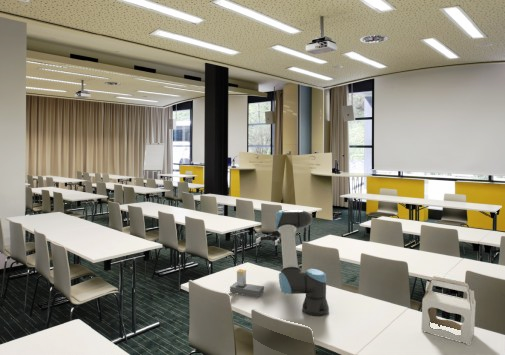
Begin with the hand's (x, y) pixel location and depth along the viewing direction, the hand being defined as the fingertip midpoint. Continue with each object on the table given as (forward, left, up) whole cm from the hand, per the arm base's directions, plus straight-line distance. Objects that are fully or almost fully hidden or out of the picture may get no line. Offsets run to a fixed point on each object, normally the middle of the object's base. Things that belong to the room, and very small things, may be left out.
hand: (265, 242), depth 253 cm
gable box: (-108, +25, -30) cm, 115 cm away
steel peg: (+11, +16, -30) cm, 36 cm away
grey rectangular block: (+7, +16, -30) cm, 35 cm away
